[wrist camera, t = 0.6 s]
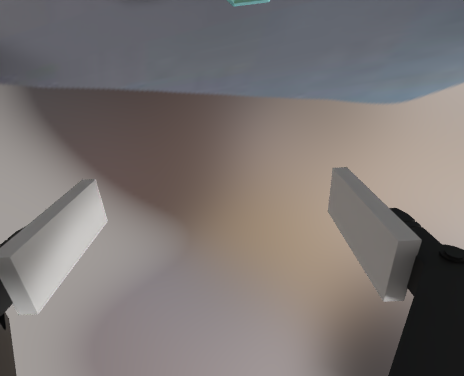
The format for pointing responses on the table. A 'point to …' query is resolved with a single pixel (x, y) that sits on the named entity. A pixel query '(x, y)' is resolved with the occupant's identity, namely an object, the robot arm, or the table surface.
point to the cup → (245, 2)
